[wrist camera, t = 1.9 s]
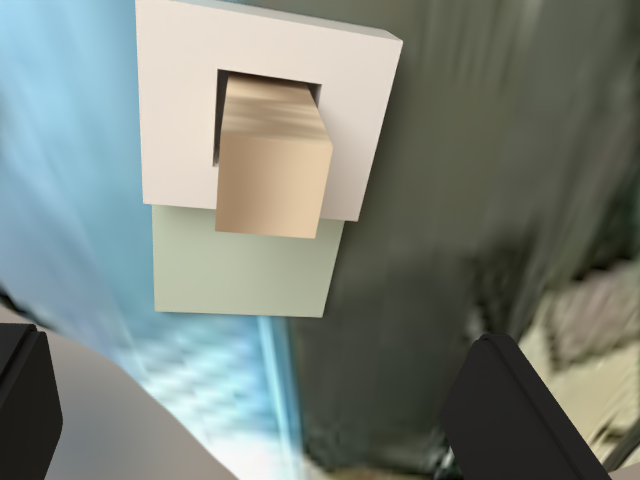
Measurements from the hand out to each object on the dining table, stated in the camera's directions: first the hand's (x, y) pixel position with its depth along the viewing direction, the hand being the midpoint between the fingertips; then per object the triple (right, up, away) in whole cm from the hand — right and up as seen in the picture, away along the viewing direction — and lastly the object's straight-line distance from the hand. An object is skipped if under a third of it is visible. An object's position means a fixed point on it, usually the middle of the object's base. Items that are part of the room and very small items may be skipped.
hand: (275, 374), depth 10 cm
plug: (-2, +10, +15) cm, 18 cm away
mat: (-4, +2, +21) cm, 22 cm away
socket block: (-2, +11, +15) cm, 19 cm away
